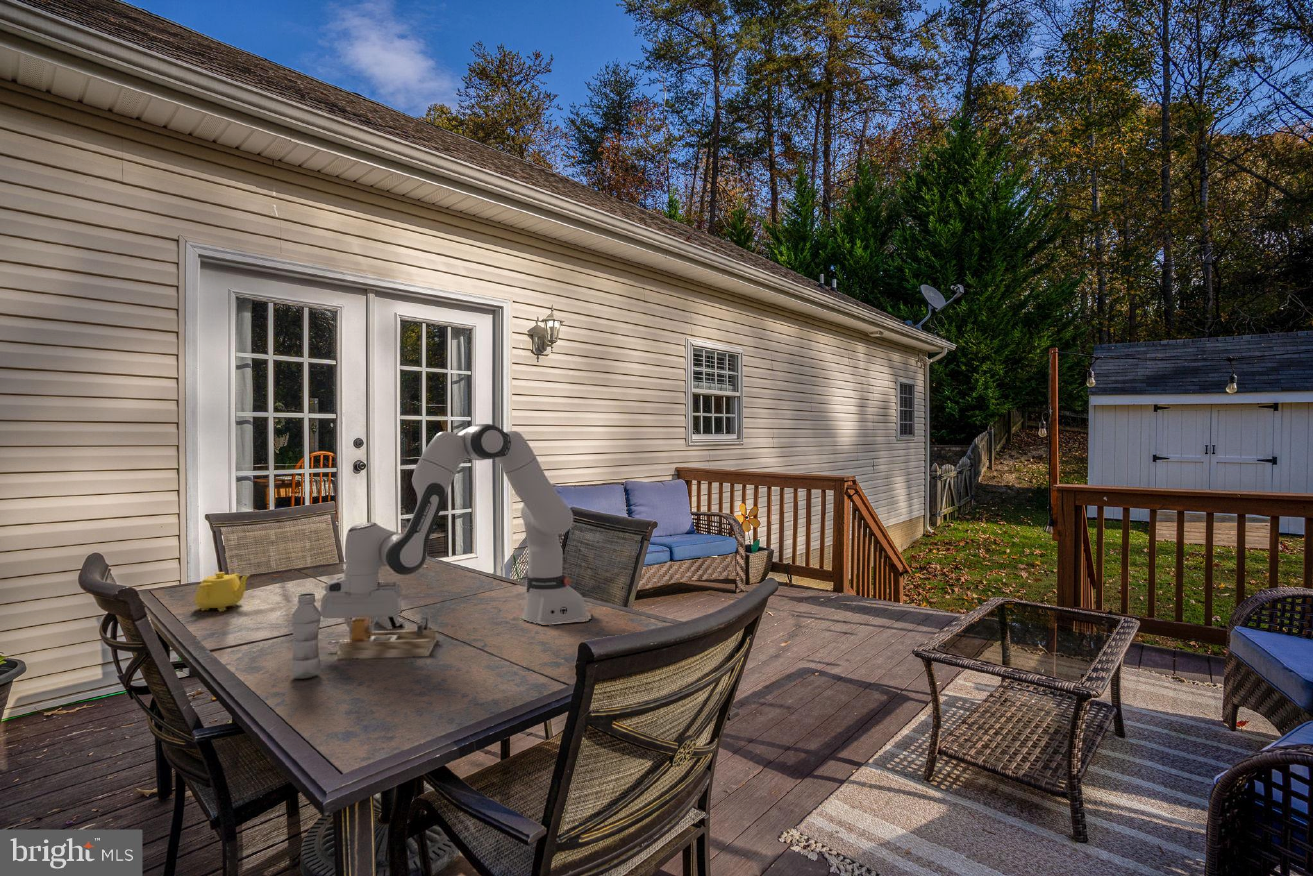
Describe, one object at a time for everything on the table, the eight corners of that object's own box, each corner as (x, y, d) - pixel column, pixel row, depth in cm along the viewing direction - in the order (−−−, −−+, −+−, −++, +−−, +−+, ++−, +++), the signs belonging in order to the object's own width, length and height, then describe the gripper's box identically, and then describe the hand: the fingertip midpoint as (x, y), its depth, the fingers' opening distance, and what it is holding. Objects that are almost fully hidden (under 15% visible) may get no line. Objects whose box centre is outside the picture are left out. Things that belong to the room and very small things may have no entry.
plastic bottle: (299, 684, 151) (301, 599, 151) (284, 678, 155) (285, 595, 155) (326, 676, 156) (327, 594, 156) (310, 670, 160) (312, 590, 160)
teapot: (199, 616, 203) (200, 579, 203) (190, 607, 213) (190, 572, 213) (250, 608, 213) (250, 573, 213) (239, 600, 223) (239, 566, 223)
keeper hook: (428, 634, 186) (428, 617, 186) (422, 643, 178) (423, 625, 178) (421, 634, 185) (422, 617, 185) (416, 643, 177) (416, 625, 177)
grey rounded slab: (405, 627, 197) (395, 598, 195) (390, 635, 194) (379, 605, 192) (387, 614, 209) (376, 587, 207) (372, 622, 207) (362, 594, 204)
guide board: (437, 639, 186) (437, 627, 186) (428, 656, 172) (428, 643, 172) (352, 642, 182) (353, 629, 182) (336, 659, 168) (337, 646, 168)
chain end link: (398, 638, 181) (398, 614, 181) (392, 647, 174) (392, 621, 173) (331, 640, 178) (331, 615, 178) (322, 649, 171) (322, 623, 171)
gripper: (404, 579, 180) (403, 628, 180) (326, 580, 177) (325, 630, 177) (399, 584, 174) (398, 635, 174) (318, 586, 171) (317, 637, 171)
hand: (361, 633), depth 176 cm, fingers closed on chain end link, 3 cm apart
